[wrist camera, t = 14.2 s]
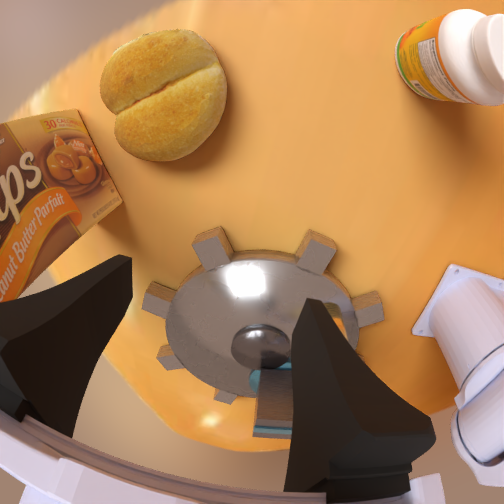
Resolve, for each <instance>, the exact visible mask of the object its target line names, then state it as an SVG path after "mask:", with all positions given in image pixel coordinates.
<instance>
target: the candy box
mask: <svg viewBox="0 0 504 504" xmlns="http://www.w3.org/2000/svg"><path fill="white" fill-rule="evenodd" d="M122 202H123V200H122V199H121V197H120V195H119V193H118V191H117V189H116V187H115V185H114V184H113V182H112V180H111V178H110V176H109V174H108V173H107V171H106V169H105V167H104V165H103V163H102V161H101V158H100V156H99V154H98V152H97V150H96V148H95V147H94V145H93V143H92V141H91V139H90V137H89V134H88V132H87V130H86V128H85V126H84V124H83V122H82V120H81V117H80V115H79V113H78V111H77V109H69V110H63V111H57V112H51V113H46V114H40V115H35V116H30V117H26V118H22V119H17V120H13V121H9V122H5V123H1V124H0V302H6V301H10V300H15V299H17V298H18V297H19V296H20V295H21V294H22V293H23V292H24V291H25V290H26V288H27V287H29V286H30V284H31V283H33V281H34V280H35V279H36V278H37V277H38V276H39V275H40V274H41V273H42V272H43V271H44V270H45V269H46V268H47V267H48V266H49V265H51V264H52V263H53V262H54V261H55V260H56V259H57V258H58V257H59V256H60V255H61V254H62V253H63V252H64V251H65V250H67V249H68V248H69V247H70V246H71V245H72V244H73V243H74V242H75V241H77V240H78V239H79V238H80V237H81V236H82V235H84V234H85V233H86V232H87V231H88V230H89V229H91V228H92V227H93V226H94V225H95V224H97V223H98V222H99V221H100V220H102V219H103V218H104V217H105V216H106V215H108V214H109V213H110V212H111V211H113V210H114V209H115V208H116V207H118V206H119V205H120V204H121V203H122Z"/></svg>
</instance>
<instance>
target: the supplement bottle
mask: <svg viewBox="0 0 504 504" xmlns="http://www.w3.org/2000/svg"><path fill="white" fill-rule="evenodd" d="M395 61H396V65H397V68H398V71H399V73H400V75H401V77H402V78H403V80H404V81H405V83H406V84H407V85H408V86H409V87H410V88H411V89H412V90H413V91H415V92H416V93H417V94H419V95H421V96H423V97H425V98H429V99H433V100H442V101H453V102H462V103H470V104H477V105H485V106H498V105H501V104H504V14H495V15H490V16H486V15H484V14H482V13H480V12H478V11H475V10H470V9H461V10H456V11H453V12H450V13H448V14H445V15H442V16H440V17H437V18H435V19H432V20H430V21H427V22H425V23H422V24H420V25H418V26H416V27H413V28H411V29H409V30H408V31H406V32H404V33H403V34H402V35H401V36H400V38H399V39H398V41H397V44H396V47H395Z"/></svg>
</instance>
